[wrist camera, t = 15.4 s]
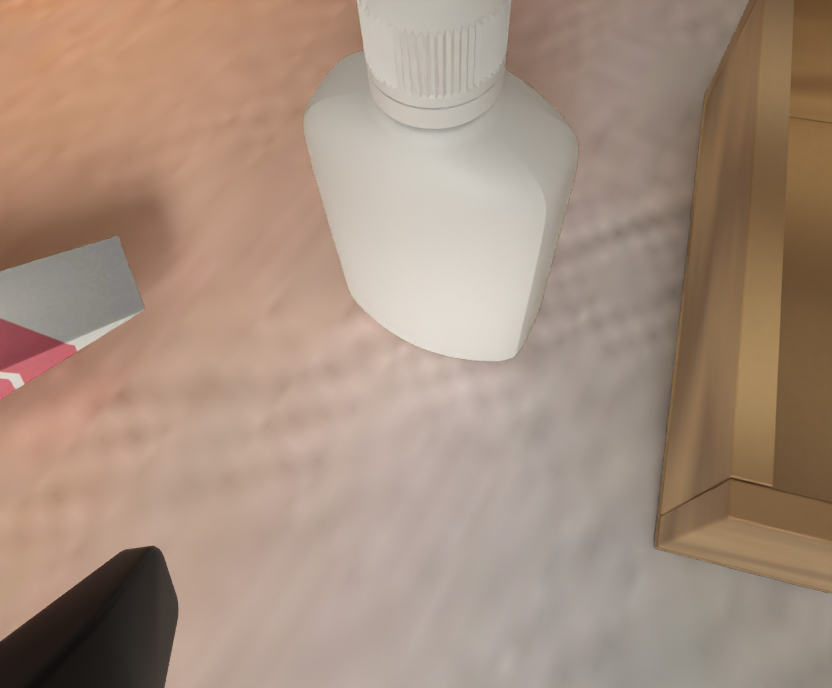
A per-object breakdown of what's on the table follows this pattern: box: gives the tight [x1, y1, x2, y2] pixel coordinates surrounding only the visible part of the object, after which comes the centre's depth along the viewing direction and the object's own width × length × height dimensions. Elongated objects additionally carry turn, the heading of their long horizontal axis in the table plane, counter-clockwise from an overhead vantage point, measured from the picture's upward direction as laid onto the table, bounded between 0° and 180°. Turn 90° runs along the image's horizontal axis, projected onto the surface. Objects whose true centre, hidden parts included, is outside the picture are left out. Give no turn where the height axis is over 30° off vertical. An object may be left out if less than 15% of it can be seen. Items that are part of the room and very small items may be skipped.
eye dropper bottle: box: [303, 0, 579, 361], centre depth 14 cm, size 4×6×12 cm
